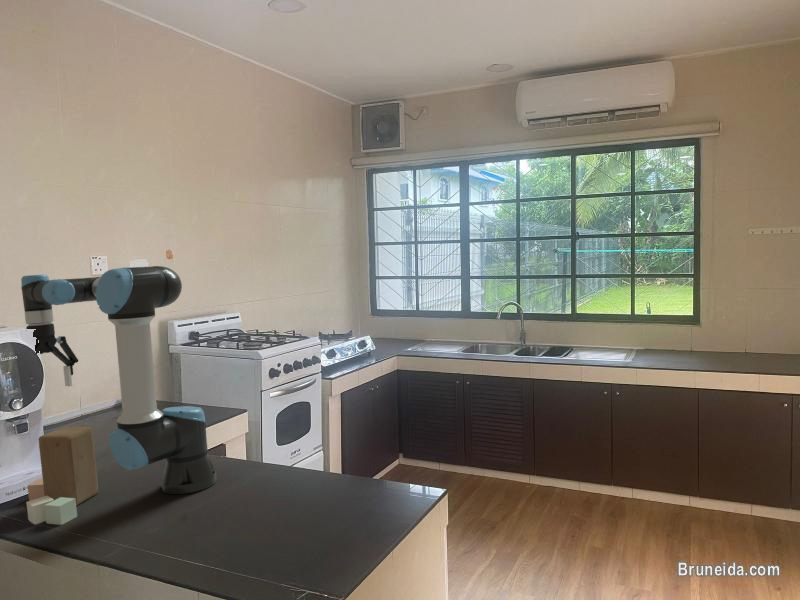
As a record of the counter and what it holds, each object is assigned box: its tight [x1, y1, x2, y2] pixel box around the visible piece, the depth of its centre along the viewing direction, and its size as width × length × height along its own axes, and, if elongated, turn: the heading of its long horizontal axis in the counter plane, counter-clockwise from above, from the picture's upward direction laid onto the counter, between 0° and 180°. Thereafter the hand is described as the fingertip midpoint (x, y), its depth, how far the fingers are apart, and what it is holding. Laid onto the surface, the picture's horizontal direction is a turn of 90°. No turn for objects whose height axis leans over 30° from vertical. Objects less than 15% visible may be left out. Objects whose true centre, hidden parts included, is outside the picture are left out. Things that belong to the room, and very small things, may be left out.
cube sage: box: [45, 497, 78, 526], centre depth 157 cm, size 5×5×5 cm
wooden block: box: [38, 426, 99, 506], centre depth 170 cm, size 10×10×20 cm
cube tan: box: [27, 478, 45, 501], centre depth 173 cm, size 5×5×5 cm
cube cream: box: [26, 496, 54, 525], centre depth 159 cm, size 5×5×5 cm
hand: (47, 390), depth 190 cm, fingers open, 13 cm apart
